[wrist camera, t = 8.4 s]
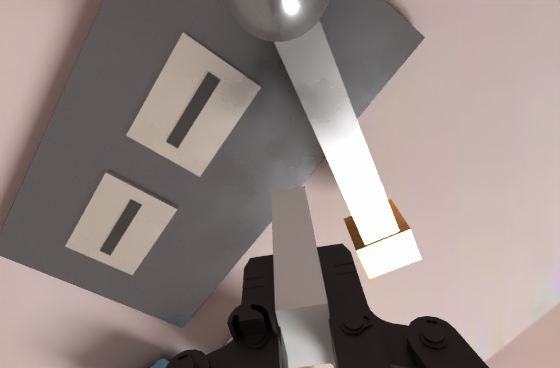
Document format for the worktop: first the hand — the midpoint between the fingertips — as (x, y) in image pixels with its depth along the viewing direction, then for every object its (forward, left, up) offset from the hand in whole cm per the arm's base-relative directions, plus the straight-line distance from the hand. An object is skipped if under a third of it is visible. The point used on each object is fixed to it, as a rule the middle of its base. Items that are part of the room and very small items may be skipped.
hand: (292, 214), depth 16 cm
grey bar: (-4, 0, -7) cm, 8 cm away
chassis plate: (+4, -5, -9) cm, 11 cm away
